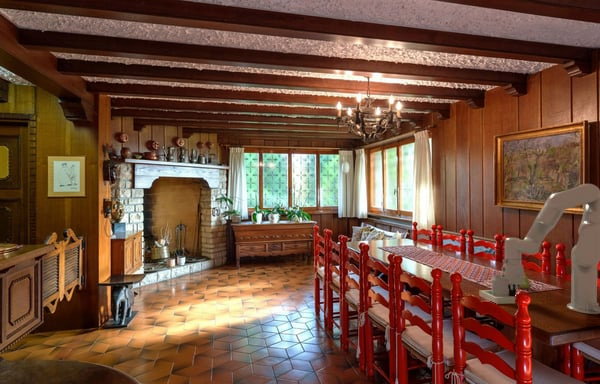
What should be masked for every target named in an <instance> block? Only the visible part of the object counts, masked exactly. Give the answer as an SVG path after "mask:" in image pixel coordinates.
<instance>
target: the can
mask: <svg viewBox="0 0 600 384" xmlns="http://www.w3.org/2000/svg"><path fill="white" fill-rule="evenodd" d="M492 276H493V277H492V278H491V290H492V295H493V296H495V297H509V289H508V280H507V279H506V278H504V277H502V275H498V274H496V275H492Z"/></svg>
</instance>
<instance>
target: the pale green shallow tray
mask: <svg viewBox="0 0 600 384" xmlns="http://www.w3.org/2000/svg"><path fill="white" fill-rule="evenodd" d="M478 291H479V292H478V293H479V297H481V298H482V299H484V300H487V301H488V302H490V301H492V302H494V303H496V304H495V305H498V304H499V305H500V304H516V302H515V297H514V296H511V297H510V296H508V297H495V296H493V295H492V289H484V290H483V289H482V290H480V289H479V290H478ZM492 302H491V303H492ZM494 303H493V304H494Z"/></svg>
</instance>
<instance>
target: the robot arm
mask: <svg viewBox="0 0 600 384" xmlns="http://www.w3.org/2000/svg"><path fill="white" fill-rule="evenodd" d="M543 204H544V205H543V206H542V207H541V210H540V211H539V213H538V214H537V216H536V217H535V219H534V221H533V223H532V225H531V227H530V228H529V230H528V232H527V233H526V235H525V237H524V239H520V238H518V237H506V238H505V239H504V259H502V263H503V265H502V268H501V276H502V277H504V278H506V279H507V280H508V297H511V296H514V297H515V295H516V296H517V290H518V289H519V288H518V287H519V286H522V285H523V284H524V283H525V275H526V274H525V268H524V265H523V264H522V254H525V255H529V256H530V255H536V254H538V253H539V251H540V246H541V245H542V243H543V241H544V240H545V238H546V236H547V235H548V233H550V232H551V231H552V230H553V229H554V228H555V226H556V225H557V223H558V221H559V220H560V219H561V217H562V215H563V213H564V212H565V210H568V209H573V208H575V207H580V206H583V209H584V210H583V213H582V218H581V221H580V225H579V227H578V230H577V232H578V239H577V243H576V244H575V245H574V246H573V247H572V248H571V254H570V260H571V283H570V285H571V286H570V287H571V289H570V290H571V291H570V292H571V293H570V302H569V303H567V304H566V308H568V310H571V311H573V312H577V313H581V314H589V315H599V314H600V306H599V305H600V303H599V302H597V301H598V299H597V297H598V293H597V291H598V290H597V289H598V264H599V263H600V188H599V187H598V186H596V185H595V184H592V183H582V184H580V185H578V186H576V187H572V188H570V189H566V190H563V191H559V192H553V193H551V194H550V195H549V196H548V198H547V199H546V201H545V203H543ZM524 274H525V275H524Z"/></svg>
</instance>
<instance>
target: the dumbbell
mask: <svg viewBox="0 0 600 384" xmlns="http://www.w3.org/2000/svg"><path fill="white" fill-rule="evenodd" d="M524 275H525V283H524V284H523V285H522V286H519V288H520V289H527V288H529V286H530V285H531V281H530V279H529V278H528V276H526V274H525V273H524ZM519 288H518V289H519Z"/></svg>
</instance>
